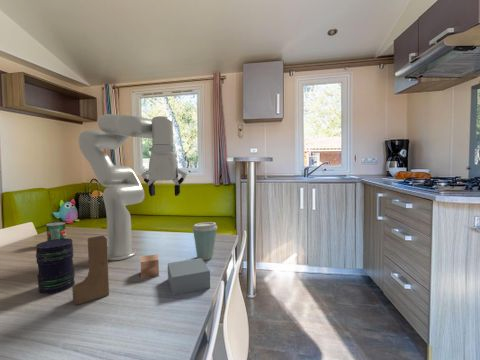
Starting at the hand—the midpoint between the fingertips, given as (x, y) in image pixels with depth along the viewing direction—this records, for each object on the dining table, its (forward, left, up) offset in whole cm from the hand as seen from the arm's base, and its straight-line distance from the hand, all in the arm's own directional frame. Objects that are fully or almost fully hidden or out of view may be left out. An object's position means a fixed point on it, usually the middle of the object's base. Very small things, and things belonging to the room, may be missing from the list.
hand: (164, 195), depth 94 cm
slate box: (+6, -15, -29) cm, 33 cm away
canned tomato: (-50, +53, -29) cm, 78 cm away
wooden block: (-23, -13, -29) cm, 39 cm away
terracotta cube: (-6, -2, -29) cm, 29 cm away
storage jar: (-35, -1, -29) cm, 45 cm away
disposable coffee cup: (+17, +6, -29) cm, 34 cm away
